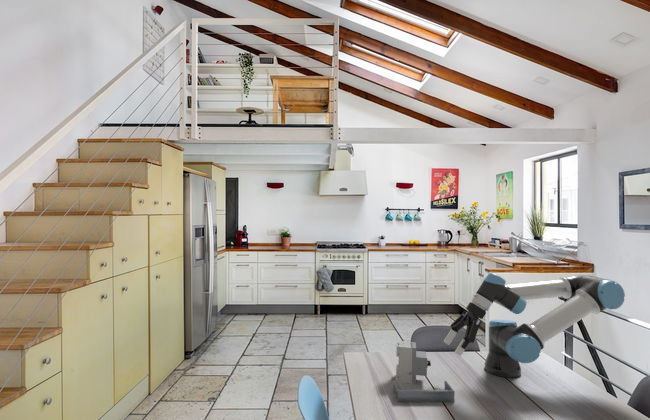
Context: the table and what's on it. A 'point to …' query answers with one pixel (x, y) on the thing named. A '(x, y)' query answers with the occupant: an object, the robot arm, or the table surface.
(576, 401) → the table surface
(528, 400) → the table surface
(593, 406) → the table surface
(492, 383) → the table surface
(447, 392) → the grey u-shaped bracket
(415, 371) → the circuit breaker
